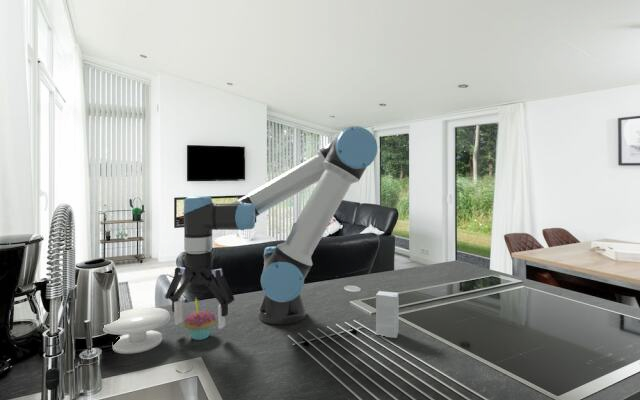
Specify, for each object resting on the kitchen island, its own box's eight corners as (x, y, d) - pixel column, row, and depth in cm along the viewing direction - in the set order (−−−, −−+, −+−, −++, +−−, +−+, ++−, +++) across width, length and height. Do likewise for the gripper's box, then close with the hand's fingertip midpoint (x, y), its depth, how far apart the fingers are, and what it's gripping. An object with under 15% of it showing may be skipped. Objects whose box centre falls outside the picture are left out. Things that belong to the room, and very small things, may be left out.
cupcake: (206, 344, 101) (205, 300, 100) (178, 341, 102) (177, 298, 102) (220, 331, 109) (220, 291, 108) (194, 329, 111) (193, 289, 110)
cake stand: (182, 333, 107) (182, 309, 107) (143, 361, 91) (143, 332, 91) (133, 328, 111) (132, 305, 110) (87, 354, 95) (86, 326, 94)
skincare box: (398, 332, 108) (399, 292, 107) (396, 338, 104) (397, 296, 103) (377, 330, 110) (378, 290, 109) (375, 335, 106) (375, 294, 105)
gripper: (245, 250, 105) (246, 323, 106) (167, 246, 111) (169, 316, 112) (233, 255, 98) (234, 334, 99) (150, 251, 103) (152, 326, 105)
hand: (199, 325), depth 105 cm, fingers open, 13 cm apart
